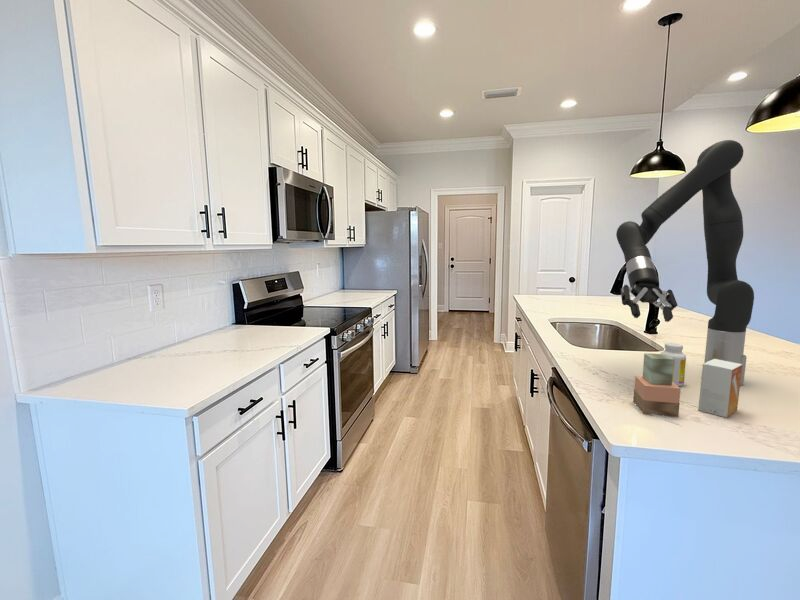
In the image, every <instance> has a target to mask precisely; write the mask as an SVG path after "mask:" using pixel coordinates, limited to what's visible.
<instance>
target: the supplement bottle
mask: <svg viewBox="0 0 800 600" xmlns="http://www.w3.org/2000/svg"><path fill="white" fill-rule="evenodd" d="M664 349H665V350H663V351H660V354H665V355H667V356H669V357H671V358H672V359H674V365H673V377H672V382H673V383H675V384H676V385H677V386H678V387H682V386H683V385H684V384H685V377H686V376H685V374H686V363H687V362H686V361H687V356H686V354H685V353H684V352H683V349H684V346H683V344H680V343H676V342H675V343H674V342H665V343H664Z"/></svg>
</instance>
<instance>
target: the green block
mask: <svg viewBox="0 0 800 600" xmlns="http://www.w3.org/2000/svg"><path fill="white" fill-rule="evenodd" d="M673 365H674V359H672V358H671V357H669V356H667V355H665V354H661V353H647V352H646V353H644V354H643V365H642V366H643V367H642V376H643V379H645V380H646V381H647V382H649V383H650V384H659V385H672V377H673Z"/></svg>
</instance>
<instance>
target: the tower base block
mask: <svg viewBox="0 0 800 600" xmlns="http://www.w3.org/2000/svg"><path fill="white" fill-rule="evenodd" d="M632 397H633V399H632V402H633V404H634V405H635V404H636V406H638V407H639V409H640V410H639V409H638V410H639V411H642V412H641V413H642V414H643V415H650V414H657V415H660V416H663V415H664V416H663V417H675V418H679V415H680V402H679V403H669V402H657V401H646V400H643V399H642V398H641V397H640V395H639V394H638V393H637V392H636V391H635V390H634V389H633V396H632Z"/></svg>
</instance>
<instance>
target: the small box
mask: <svg viewBox="0 0 800 600" xmlns="http://www.w3.org/2000/svg"><path fill="white" fill-rule="evenodd" d="M742 366H743V364H739V363H734V362H729V361H723V360H718V359H713V360H710V361H708V362H706V363H704V362H703V363H702V370H701V377H700V378H701V379H700V389H699V390H700V391H699V399H698V409H697V410H698V411H701V412H705V413H708V414H711V415H714V416H715V415H716V416H719V417H723V418H727V419H728V418H729V417H730V416H731V415H732V414H734V413H735V412H737V411H738V406H739V399H740V398H739V397H740V389H741V385H740V382H741V374H742Z"/></svg>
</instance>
